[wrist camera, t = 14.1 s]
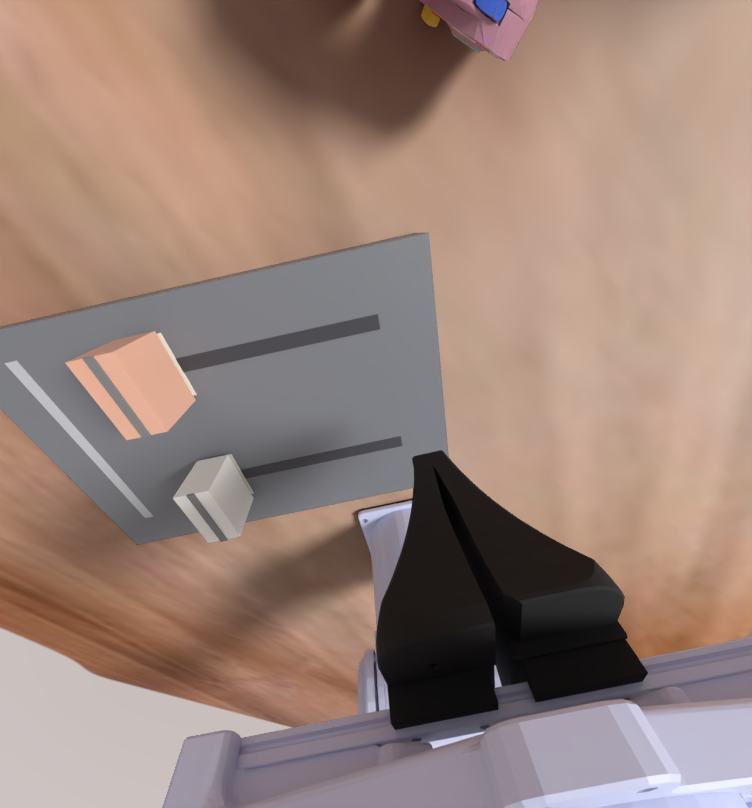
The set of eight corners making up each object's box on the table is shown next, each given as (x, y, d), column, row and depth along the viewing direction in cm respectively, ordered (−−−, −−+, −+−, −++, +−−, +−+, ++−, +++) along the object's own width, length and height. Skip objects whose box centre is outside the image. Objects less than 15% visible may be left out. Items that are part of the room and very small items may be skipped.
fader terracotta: (196, 400, 16) (167, 432, 14) (161, 408, 16) (125, 441, 14) (154, 330, 14) (111, 352, 12) (115, 339, 14) (62, 362, 12)
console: (439, 453, 24) (450, 480, 22) (158, 512, 25) (136, 545, 22) (415, 232, 16) (429, 232, 14) (-1, 326, 17) (-66, 344, 14)
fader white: (253, 498, 20) (240, 537, 18) (225, 504, 20) (207, 544, 18) (227, 454, 18) (207, 491, 16) (196, 460, 18) (171, 499, 16)
